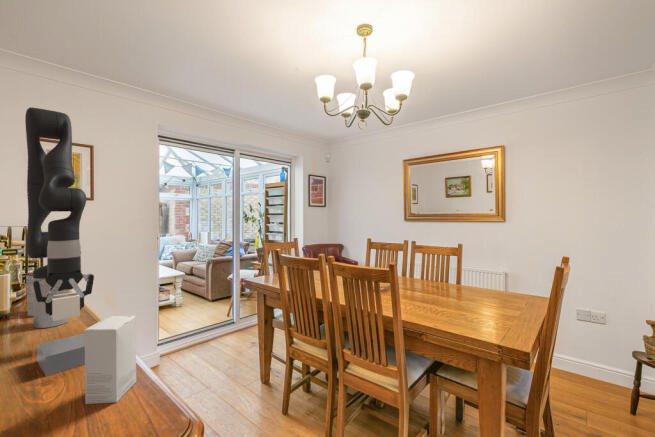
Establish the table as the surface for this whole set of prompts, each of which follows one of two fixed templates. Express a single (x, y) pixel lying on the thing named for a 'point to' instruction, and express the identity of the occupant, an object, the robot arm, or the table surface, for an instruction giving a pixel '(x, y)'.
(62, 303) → the cream block
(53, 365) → the slate block
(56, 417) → the table surface
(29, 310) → the candy bar box
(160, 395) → the table surface
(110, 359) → the skincare box
